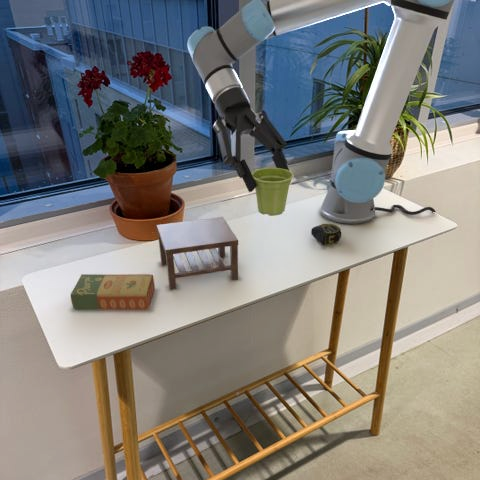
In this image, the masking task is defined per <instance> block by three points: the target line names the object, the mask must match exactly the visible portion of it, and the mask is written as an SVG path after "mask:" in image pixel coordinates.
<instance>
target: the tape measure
mask: <svg viewBox="0 0 480 480" xmlns="http://www.w3.org/2000/svg"><path fill="white" fill-rule="evenodd" d="M310 233H311V236H312V237H313V238H314V239H316V241H318V242H319V243H320V245H322V246H328V245H334V244H337V243H338V242H339V241H340V240H341V238H342V230H341V228H340V227H339V226H338V225H336V224H334V223H322V224H319V225H316V226H313V227H312V228H311V231H310Z"/></svg>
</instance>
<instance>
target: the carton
mask: <svg viewBox="0 0 480 480" xmlns="http://www.w3.org/2000/svg"><path fill="white" fill-rule="evenodd" d="M79 276H80V277H79V278H78V280H77V282H76V284H75V286H74V287H73V289H72V291H71V293H70V300H71V304H72V307H73V310H76V311H111V310H112V311H114V310H115V311H116V310H118V311H130V310H132V311H137V310H138V311H147V310H149V309H150V306H151V303H152V299H153V297H154V293H155V292H156V291H155V290H156V285H155V277H154V275H153V274H145V273H141V274H131V273H130V274H128V273H127V274H103V273H102V274H93V273H92V274H89V273H87V274H83V273H82V274H80V275H79Z"/></svg>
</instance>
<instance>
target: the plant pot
mask: <svg viewBox="0 0 480 480" xmlns="http://www.w3.org/2000/svg"><path fill="white" fill-rule="evenodd" d="M289 170H290V169H289ZM289 170H286V169H281V168H277V167H264V168H263V167H262V168H259V169H258V168H257V169H256V170H254V171H252V172H251V174H252V176H253V178H254V180H255V182H256V184H257V186H256V188H255V189H254V190H255V196H256V197H255V198H256V203H257V204H256V205H257V212H258V213H260V214H261V215H264V216H265V215H268V216H269V217H274V216H280V215H282V214H283V213H284V212H285V211H286V205H287V200H288V195H289V194H288V193H289V187H290V185H291V182H292V180H293V178H294V173H293V172H292V171H291V170H290V171H289Z"/></svg>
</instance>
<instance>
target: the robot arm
mask: <svg viewBox="0 0 480 480" xmlns="http://www.w3.org/2000/svg"><path fill="white" fill-rule="evenodd" d="M382 3H384V4H385V5H387V6H389V7H390V6H391V9H392V12H393V14H394V20H393V21H392V22H393V23H392V25H391V28H390V31H389V34H388V37H387V39H386V42H385V45H384V48H383V51H382V54H381V57H380V59H379V62H378V65H377V67H376V68H377V69H376V71H375V74H374V77H373V80H372V82H371V85H370V88H369V91H368V94H367V96H366V99H365V102H364V106H363V108H362V110H361V113H360V115H359V119H358V123H357V125H356V128H355V129H351V130H350V129H348V130H341V131H338V132H337V133H336V135H335V139H334V141H333V144H334V147H333V156H332V157H333V158H332V166H331V175H330V183H329V187H328V190H327V192H326V194H325V197H324V199H323V201H322V204H321V209H320V212H321V215H322V216H323V217H324V218H326V219H327V220H329V221H332V222H335V223H340V224H346V225H348V224H349V225H358V224H363V223H367V222H370V221H372V220H373V219H374V217H375V215H376V214H375V213H376V211H379V212H384V213H392V212H394V210H395V209H399V210H401V211H402V212H403V213H404V214H405V215H408V216H415V215H416V216H417V215H419V214H422V213H424V212H426V211H430V212H431V213H436V210H435V209H434V208H433V207H431V206H425V207H423V208H421V209H419V210H416V211H410V210H408V209H406V208H405V207H404V206H402V205H400V204H392V205H391V207H390V208H385V207H381V206H380V207H379V206H376V205H375V200H374V199H375V198H376V197H377V196H378V195H379V194H380V193H381V192H382V190H383V189H384V186H385V182H386V170H387V167H388V165H389V163H390V160H391V158H392V155H393V152H394V148H393V147H392V145H391V140H392V138H393V135H394V133H395V130H396V127H397V125H398V122H399V120H400V117H401V116H402V113H403V110H404V107H405V105H406V102H407V100H408V97H409V94H410V93H411V91H412V90H411V89H412V87H413V84H414V82H415V80H416V77H417V75H418V73H419V70H420V67H421V64H422V62H423V60H424V57H425V54H426V52H427V50H428V47H429V44H430V42H431V40H432V37H433V34H434V32H435V30H436V28H438V27H439V26H441V25H442V24H444V23H446V22H447V20H448V18H449V14H450V12H451V10H452V7H453V5H454V3H455V0H266V1H262V0H251V1H250V2H249V3H247V4H245V5H243V6H242V8H241V9H240V10H239V11H237V12H236V13H235V14H234V15H233V16H231V17H230V19H229V18H228V20H227V21H226V22H225V23H224V24H223V25H221V26H220V27H218V28H217V29H214V28H213V27H212V26H202V27H201V28H200V29H196V30H195V31H194V32H192V33H191V35H190V36H189V37H188V39H187V51H188V53H189V55H190V57H191V60H192V64H193V66H194V67H195V68H196V71H197V73H198V75H199V77H200V78H201V80H202V82H203V84H204V87H205V89H206V90H207V93H208V95H209V98H210V99H211V101H212V103H213V104H214V108H215V110H216V112H217V115H218V116H219V118H217V119H216V121H214V123H213V125H212V129H213V131H214V132H215V134H216V136H217V140H218V145H219V150H220V155H221V158H222V162H223V165H225V166H228V165H229V167H230V168H232V169H235V171H236V174H237V176H238V177H239V179H242V180H243V182H244V185H245V187H246V189H247V191H248V193H252V192H253V191H254V190H255V188H256V186H257V184H256V182H255V180H254V178H253V176H252V174H251V173H252V172H251V170H250V168H249V165H248V164H247V161H246V159H242V153H241V151H242V144H241V143H242V141H241V140H242V136H243V135H249V136H250V137H252V138H255V139H256V140H257V141H258V142H259V143H260V144H261V145H262V146H263V147H264V148H266V149H267V151H268V152H270V153H271V154H272V157H271V160H272V161H273V163H274V165H275V168H281V169H286V170H289V171H291V170H290V168H289V166H288V160H287V158H286V156H285V154H284V152H283V150H284V149H285V148H286V147H287V146H288V144H287V142H286V140H285V139H284V138H283V136H282V135H281V134H280V132H279V131H278V130H277V128H276V126H274V124H273V123H272V121H271V120H270V119H269V117H268V114H267V112H266V111H265V110H264V109H263V110H261V111H260V112H255V111H253V109H252V107H251V102H250V99H249V97H248V94H247V93H246V91H245V89H244V88H243V84H242V83H241V81H240V79H239V77H238V74H237V72H236V70H235V68H234V66H233V65H234V64H235V63H236V62H237V61H239V60H240V59H241V58H242V57H244V56H245V55H246V54H247V53H249V52H250V51H251V50H253V49H254V48H255V47H257V46H258V45H259V44H260V43H262V42H265V40H267V39H271V38H274V37H276V36H279V35H283V34H286V33H289V32H292V31H295V30H298V29H299V30H300V29H302V28H306V27H309V26H311V25H315V24H318V23H322V22H324V21H327V20H330V19H335V18H337V17H341V16H343V15H346V14H350V13H353V12H357V11H359V10H363V9H366V8H369V7H372V6H376V5H379V4H382ZM227 129H228V130H229V131H230V139H229V135H228V130H227ZM230 140H231V144H230Z"/></svg>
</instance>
